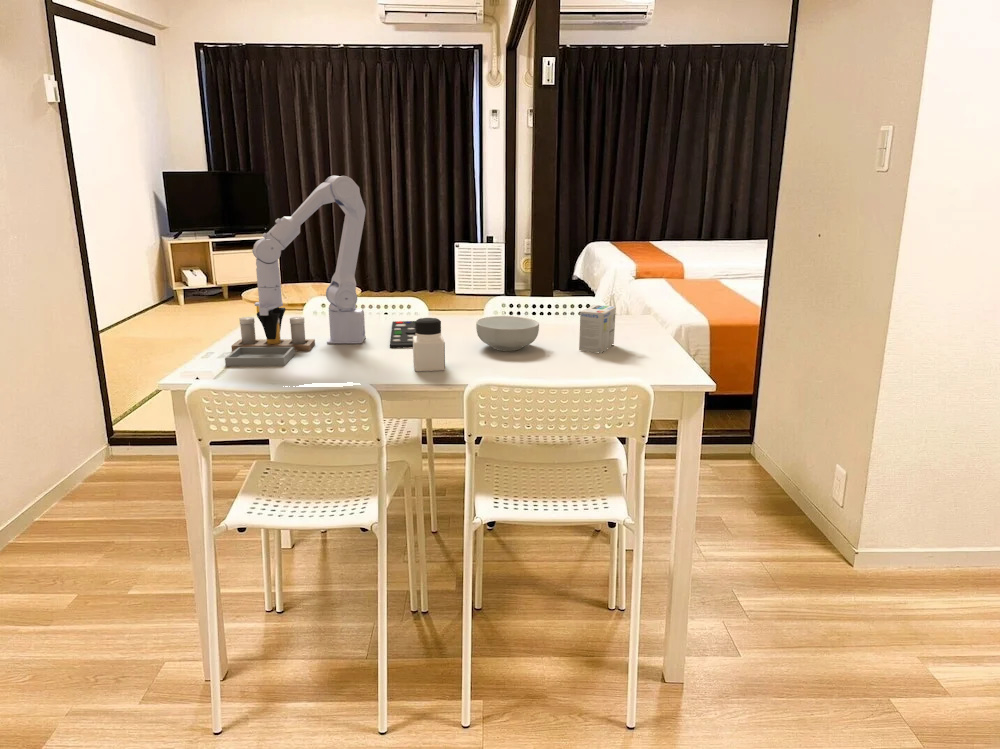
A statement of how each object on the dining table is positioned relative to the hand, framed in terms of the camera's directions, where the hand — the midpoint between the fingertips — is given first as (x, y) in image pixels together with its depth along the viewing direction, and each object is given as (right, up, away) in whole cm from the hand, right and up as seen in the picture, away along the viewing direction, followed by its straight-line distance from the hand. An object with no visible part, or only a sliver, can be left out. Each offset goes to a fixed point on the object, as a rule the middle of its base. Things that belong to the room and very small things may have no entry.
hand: (273, 337), depth 191 cm
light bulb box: (+86, -3, +4) cm, 86 cm away
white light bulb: (-6, -3, +1) cm, 7 cm away
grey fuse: (+7, -3, +1) cm, 7 cm away
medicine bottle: (+43, -8, -17) cm, 47 cm away
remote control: (+34, +1, +17) cm, 38 cm away
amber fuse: (0, -3, +1) cm, 3 cm away
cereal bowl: (+62, -3, +3) cm, 62 cm away
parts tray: (+1, -6, -11) cm, 13 cm away
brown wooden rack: (0, -3, +1) cm, 3 cm away
